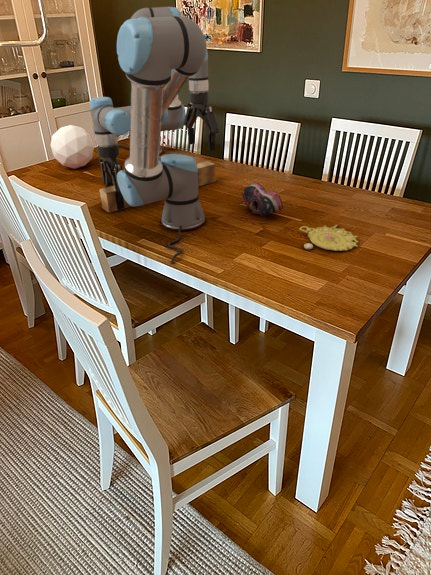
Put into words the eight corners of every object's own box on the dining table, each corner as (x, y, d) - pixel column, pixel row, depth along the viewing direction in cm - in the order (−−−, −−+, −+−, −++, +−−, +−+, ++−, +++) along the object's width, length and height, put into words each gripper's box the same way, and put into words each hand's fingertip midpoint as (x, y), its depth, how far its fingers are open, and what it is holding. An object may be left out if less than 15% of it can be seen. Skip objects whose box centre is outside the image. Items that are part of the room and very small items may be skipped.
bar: (109, 212, 165) (106, 193, 161) (102, 208, 169) (99, 189, 164) (215, 181, 191) (215, 163, 187) (207, 178, 195) (207, 160, 191)
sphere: (81, 183, 214) (66, 157, 195) (51, 163, 218) (34, 136, 200) (107, 156, 219) (95, 128, 200) (77, 137, 223) (63, 108, 205)
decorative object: (343, 255, 128) (285, 234, 139) (342, 262, 130) (284, 241, 140) (372, 230, 142) (317, 213, 152) (371, 237, 143) (316, 219, 153)
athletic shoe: (254, 181, 170) (227, 189, 167) (283, 176, 151) (253, 185, 147) (260, 210, 173) (234, 218, 170) (290, 209, 154) (261, 219, 150)
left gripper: (227, 94, 165) (228, 151, 176) (188, 87, 181) (191, 139, 193) (211, 96, 161) (213, 155, 172) (173, 89, 177) (176, 143, 189)
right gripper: (129, 147, 152) (138, 210, 165) (104, 137, 165) (114, 197, 177) (110, 152, 148) (120, 216, 161) (86, 141, 161) (97, 201, 173)
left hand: (201, 147), depth 183 cm, fingers open, 13 cm apart
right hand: (117, 206), depth 169 cm, fingers closed on bar, 6 cm apart
